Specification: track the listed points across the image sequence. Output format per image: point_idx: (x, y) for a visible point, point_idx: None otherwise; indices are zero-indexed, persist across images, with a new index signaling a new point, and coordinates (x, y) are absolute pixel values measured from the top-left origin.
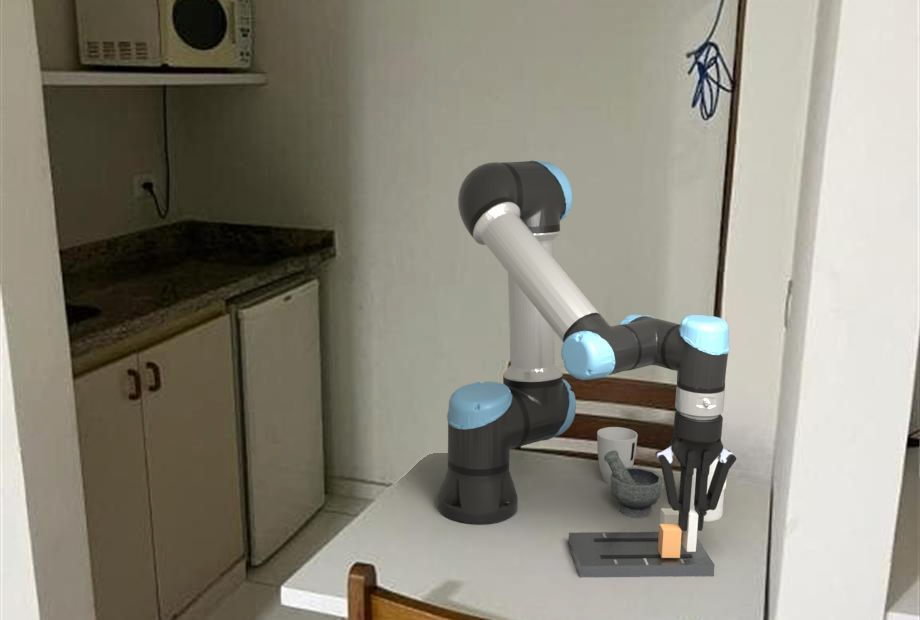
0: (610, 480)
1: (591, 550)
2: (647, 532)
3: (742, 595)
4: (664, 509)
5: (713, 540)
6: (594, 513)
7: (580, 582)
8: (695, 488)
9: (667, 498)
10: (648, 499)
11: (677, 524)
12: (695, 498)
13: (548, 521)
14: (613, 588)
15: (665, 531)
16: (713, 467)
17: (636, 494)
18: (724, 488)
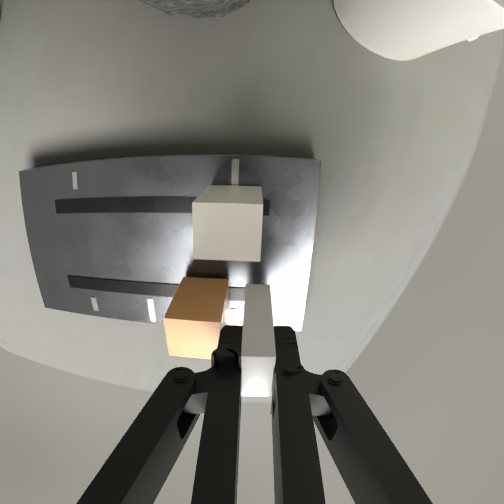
0: None
1: (53, 253)
2: (182, 159)
3: (318, 369)
4: (203, 212)
5: (370, 155)
6: (108, 11)
7: (59, 310)
8: (278, 431)
9: (160, 384)
10: (219, 9)
11: (219, 327)
12: (276, 403)
13: (20, 74)
14: (104, 334)
15: (175, 354)
16: (491, 20)
17: (171, 7)
18: (472, 38)
